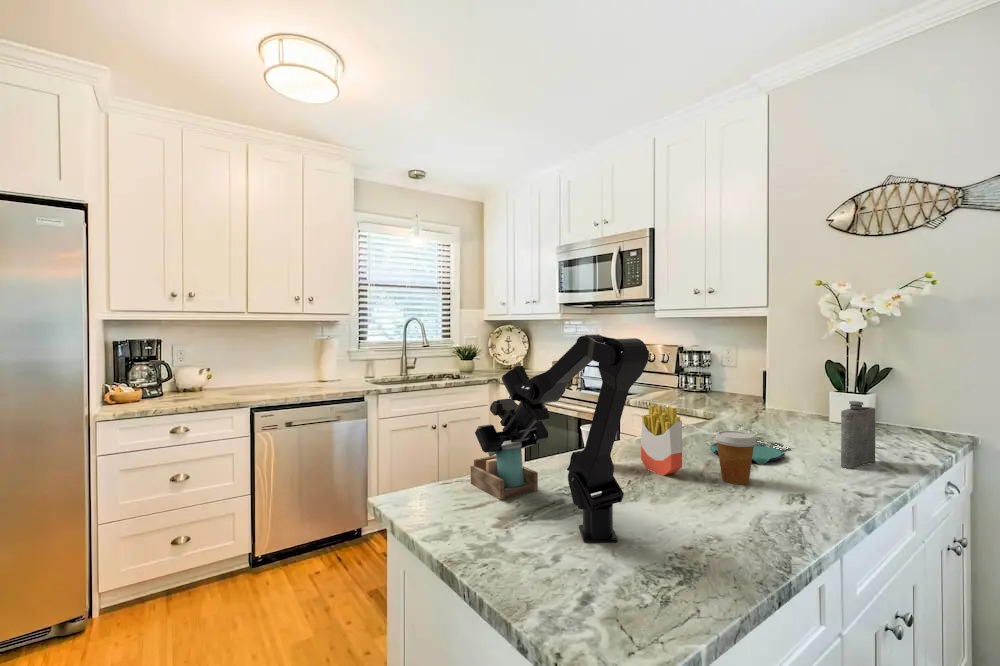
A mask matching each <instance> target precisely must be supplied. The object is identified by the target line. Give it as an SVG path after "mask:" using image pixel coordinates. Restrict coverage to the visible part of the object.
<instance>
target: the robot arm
mask: <svg viewBox="0 0 1000 666" xmlns="http://www.w3.org/2000/svg"><path fill="white" fill-rule="evenodd" d="M649 359H650V351H649V349H648V347H647V345H646V343H645V342H644V341H643V340H641V339H639V338H636V337H633V338H630V337H629V338H613V337H607V336H604V335H600V334H599V333H598V334H582V335H581V336H579V337H578V338H577V339H576V342H575V343H574V344H573V345H572V346H571V347H570V348H569V349H568V350H567V351H566V352H565V353H564V354H563V355H562V356H561V357H560V358H559V359H558V360H557V361H556V362H554V364H553V365H552V366H551V367H550V368H549V369H548V370H546V371H543V372H540V373H537V374H536V375H534V376H533V377H531V378H530V377H529V376H528V374H527V372H526V369H525V368H524V366H523V365H515V367H514V368H513V369H511V370H509V371H507V372H506V373H504V374H503V375H502V376H501V382H502V383H503V385H504V387H505V389H506V391H507V393H508V395H509V397H510V398H502V399H497V400H494V401H492V402H491V404H490V407H489V411H490V412H491V413H492V415H493V416H498V417H499V418H500V419H501V420H500V426H501V427H502V431H497V430H496V428H495V426H494V425H493V424H483V425H479V426H478V427H477V428H476V429H475V432H474V434H475V437H476V439H477V442H478V444H479V446H480V448H481V450H482V452H484V453H487V454H488V455H489V456H488V457H491V456H496V454H497V453H499V452H501V451H503V449H502V447H501V445H502V444H503V442H506V441H511V442H512V443H513V442H518V441H521V442H522V447H521V450H522V449H525V448H529V447H531V446H534V445H537V444H540V443H546V442H547V440H548V438H550V433H549V430H548V428H547V427H546V425H545V423H544V422H543V421H549V420H550V418H551V417H550V413H549V410H548V408H547V407H546V405H545V404H549V403H556V402H558V401H559V400H560V399H561V398H562V396H563V395H564V393H566V390H567V389H566V387H567V385H568V383H569V382H570V381H571V380H573V378H575V377H576V376H577V375H578V374H579V373H581V372H582V370H584V369H585V368H586V367H587V366H588V365H589V364H590V363H591V362H592V361H593V362H596V363H598V371H599V375H600V377H601V378H600V379H601V380H602V382H601V387H600V389H599V394H598V398H597V401H596V405H595V409H594V413H593V417H592V421H591V423H590V424H591V427H590V431H589V435H588V438H587V442H586V446H585V447H584V448H583V449H581V450H576V451H574V452H573V451H572V453H571V456H570V460H569V465H568V467H567V468H566V470H567V471H568V473H567V481H568V482H567V483H568V486H569V490H570V494H571V500H572V503H573V505H574V506H576V507H577V509H579V510H582V524H579V525H578V530H579V533H580V536H581V538H582V541H583V542H586V543H587V542H588V543H589V542H590V543H616V542H618V541H619V538H618V536H617V535H616V532H615V530H614V524H613V523H614V516H613V515H614V511H613V509H614V507H613V505H614V504H617V503H621V502H622V501H623V499H624V496H625V495H624V491H623V489H622V487H621V486H620V485H619V483H618V481H617V480H616V478H615V476H614V473H615V472H614V471H615V466H614V463H613V460H612V459H613V458H612V457H611V454H612V450H613V447H614V444H615V443H614V442H615V440H616V437H617V436H616V435H617V433H618V430H619V425H620V422H621V418H622V415H623V413H624V412H623V411H624V410H625V405H626V400H627V399H628V395H629V391H630V388H632V386H633V385H634V384H636V382H637V381H638V379H639V378H640V377H641V376H642V375H643V372H644V370H645V369H646V366H647V364H648V362H649ZM516 401H517V402H519V403H517V402H516ZM599 492H600V493H599ZM596 493H597V494H596ZM592 494H593V495H592Z"/></svg>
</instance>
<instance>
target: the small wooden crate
mask: <svg viewBox="0 0 1000 666" xmlns="http://www.w3.org/2000/svg"><path fill="white" fill-rule="evenodd" d="M491 459H496V455H493V456H487V457H481V458H475V459H473V465H470V484H471V485H472V486H474V487H477V488H478V489H480V490H482V491H484V492H485V493H487V494H489V495H490V496H492V497H494V498H496V499H498V500H499V501H502V499H503V500H505V499H510V498H515V497H517V496H521V495H525V494H530V493H533V491H534V492H537V490H538V489H539V485H538V484H539V482H538V481H539V479H538V478H539V474H538V471H535V470H534V469H533V470H532V469H530V468H529V467H526V466H524V465H523V475H524V484H523V485H521V486H517V487H504V480H503V479H501V478H499V477H497V476H495V475H492V474H490V473H488V472H486V460H491ZM538 491H539V490H538ZM529 492H530V493H529Z"/></svg>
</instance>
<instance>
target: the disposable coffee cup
mask: <svg viewBox="0 0 1000 666" xmlns="http://www.w3.org/2000/svg"><path fill="white" fill-rule="evenodd" d="M714 439H715V441H716V443H717V446H718V452H717V454H718V459H719V460H718V461H719V468H720V475H721V480H722V481H723V480H724V482H725V483H728V484H733V485H747V484H748V483H750V476H751V471H752V469H751V468H752V464H753V463H752V461H753V460H752V456H753V449H754V445H755V444H757V443H756V440H755V439H756V438H755V435H754V434H752V433H750V432H745V431H740V430H720V431H717V432H716V436H715V437H714Z"/></svg>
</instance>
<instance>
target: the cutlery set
mask: <svg viewBox="0 0 1000 666" xmlns="http://www.w3.org/2000/svg"><path fill="white" fill-rule="evenodd" d="M754 439H755V440H756V443H755V445H754V449H753V456H752V461H754V462H755V463H756V464H757V465H759V464H763V465H765V464H766V463H768V462H769V461H771V462H772V461H777V460H781V459H782V458H784V457H785V454H786V452H782V451H790V450H791V448H788V449H787V450H780V449H783V448H779V447H775V448H773V446H777V445H779V446H781V447H783V446H784V444H782V443H781V442H771V441H765V440H760V439H757V438H754ZM757 441H761V442H767V443H772V444H770V446H772V447H770V446H766V445H768V444H765V443H760V442H757ZM762 444H763V445H762ZM774 444H777V445H774ZM776 448H779V449H776ZM786 448H787V447H786ZM709 450H710V451H711V452H713V453H716V454H717V453H718V446H717V442H716V443H714V444H711V445H710V446H709Z"/></svg>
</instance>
